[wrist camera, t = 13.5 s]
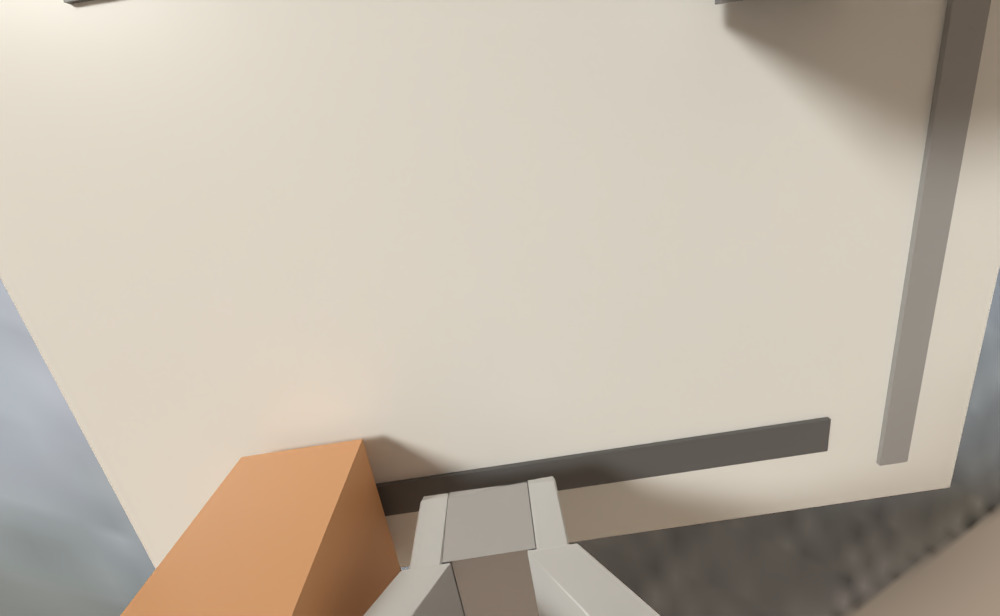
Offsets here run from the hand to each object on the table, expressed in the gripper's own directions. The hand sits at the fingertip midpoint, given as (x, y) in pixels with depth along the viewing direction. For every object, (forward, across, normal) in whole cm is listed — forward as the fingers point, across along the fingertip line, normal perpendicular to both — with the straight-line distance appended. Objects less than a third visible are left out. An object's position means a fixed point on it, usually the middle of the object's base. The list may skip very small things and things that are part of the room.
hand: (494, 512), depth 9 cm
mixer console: (+4, -1, -5) cm, 6 cm away
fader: (+1, +4, 0) cm, 4 cm away
